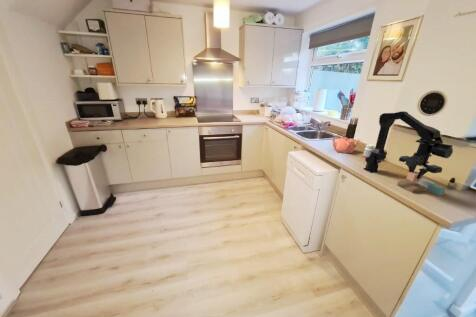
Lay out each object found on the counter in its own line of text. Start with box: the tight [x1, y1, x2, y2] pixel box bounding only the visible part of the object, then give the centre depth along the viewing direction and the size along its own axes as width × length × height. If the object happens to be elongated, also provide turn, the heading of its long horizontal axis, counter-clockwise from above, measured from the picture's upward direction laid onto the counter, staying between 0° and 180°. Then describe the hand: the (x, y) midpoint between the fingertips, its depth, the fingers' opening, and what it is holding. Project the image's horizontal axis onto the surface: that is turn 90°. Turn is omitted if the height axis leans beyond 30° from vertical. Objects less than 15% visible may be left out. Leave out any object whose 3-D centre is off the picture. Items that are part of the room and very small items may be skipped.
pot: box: [330, 135, 361, 154], centre depth 178 cm, size 18×17×12 cm
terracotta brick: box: [406, 171, 423, 182], centre depth 115 cm, size 6×4×4 cm, turn 105°
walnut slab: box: [396, 179, 426, 194], centre depth 117 cm, size 9×9×3 cm
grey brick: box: [418, 178, 437, 190], centre depth 119 cm, size 6×4×4 cm, turn 16°
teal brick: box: [426, 183, 447, 196], centre depth 113 cm, size 6×4×4 cm, turn 16°
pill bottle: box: [362, 143, 375, 160], centre depth 161 cm, size 6×6×11 cm
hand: (413, 177), depth 115 cm, fingers closed on terracotta brick, 3 cm apart
